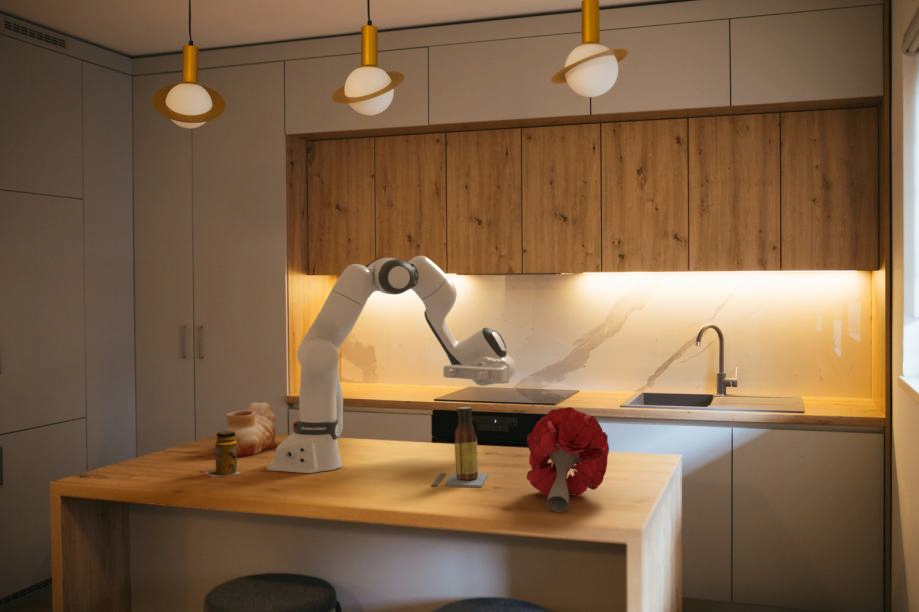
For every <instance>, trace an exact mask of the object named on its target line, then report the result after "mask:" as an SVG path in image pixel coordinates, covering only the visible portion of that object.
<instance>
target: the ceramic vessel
mask: <svg viewBox="0 0 919 612" xmlns="http://www.w3.org/2000/svg"><path fill="white" fill-rule="evenodd" d="M275 419H276V416H275V414H274V413H273V412H272V411H271V406H270V405H269V404H268V403H267V402H252V403H251V404H249V405H248V407H247V409H244V410H237V411H232V412H230V413H229V412H228V413H227V414H226V422H227V430H226V431H232V432H235V441H236V442H237V458H242V457H250V456H251V457H252V456H257V455H260V454H262V453H264V452H266V451H269V450H271V449H276V448H277V443H276V441H275V440H276V426H275V424H274V421H275Z"/></svg>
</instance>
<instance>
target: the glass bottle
mask: <svg viewBox="0 0 919 612" xmlns="http://www.w3.org/2000/svg"><path fill="white" fill-rule="evenodd" d="M341 385H342V384H341V380H340V369H339V368H338V382H337V394H336V401H337V420H338V425H339V435H338V438H337V439H339V438H340V436H341V435H342V432H343V427H344V415H343V414H344V413H343V412H344V395H343V389H342V386H341Z"/></svg>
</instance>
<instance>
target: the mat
mask: <svg viewBox="0 0 919 612" xmlns="http://www.w3.org/2000/svg"><path fill="white" fill-rule="evenodd" d="M488 477H489V473H487V472H486V473H485V472H478V478H476V479H474V480H460V479H457V474H456V471H455V472H453V473H452V474H451V476H450V477H449V478H448V479H447V481H446V482H445V483H444V487H446V488H447V487H450V488H451V487H452V488H483V486H484V484H485V482H486V481H487V479H488Z"/></svg>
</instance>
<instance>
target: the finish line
mask: <svg viewBox="0 0 919 612" xmlns="http://www.w3.org/2000/svg"><path fill="white" fill-rule="evenodd" d="M446 475H447V472H440V473H439V475H438V476H437V478H436V479H434V481H433V482H432V483H431V485H430V486H431V487H438V486H439V484H440V483H441V482H442V480H443V479H444V477H445V476H446Z"/></svg>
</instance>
